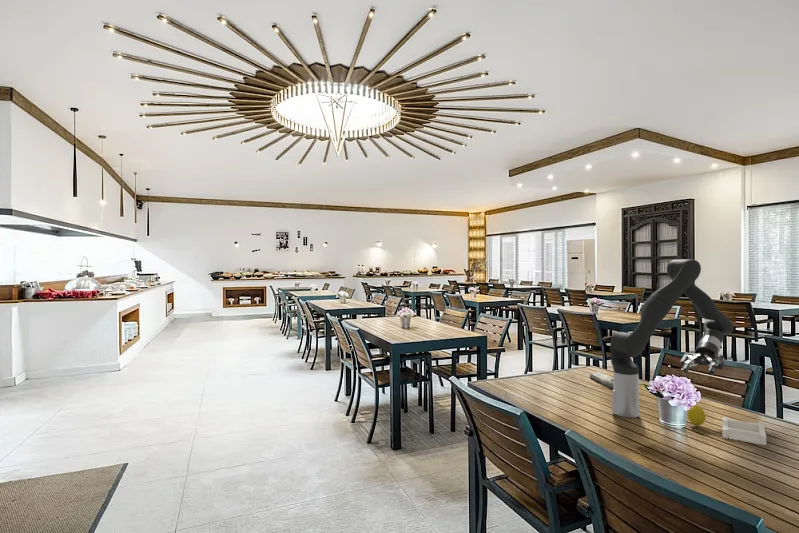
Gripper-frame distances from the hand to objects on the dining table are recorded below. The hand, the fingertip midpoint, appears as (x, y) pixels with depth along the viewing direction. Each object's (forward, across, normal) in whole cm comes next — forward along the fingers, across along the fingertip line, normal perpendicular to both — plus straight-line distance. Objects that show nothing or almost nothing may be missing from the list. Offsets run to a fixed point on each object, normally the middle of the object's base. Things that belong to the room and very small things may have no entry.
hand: (697, 372), depth 177 cm
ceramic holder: (+14, +14, +15) cm, 25 cm away
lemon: (+17, +1, +12) cm, 21 cm away
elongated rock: (-13, -46, +23) cm, 53 cm away
